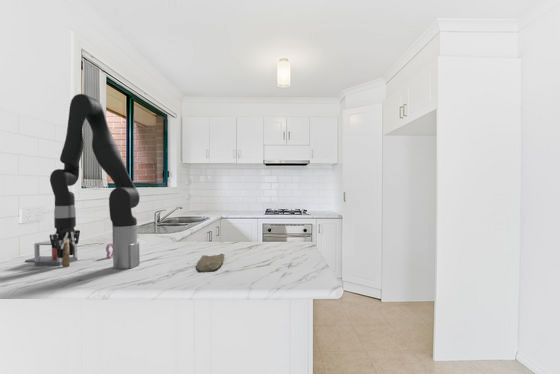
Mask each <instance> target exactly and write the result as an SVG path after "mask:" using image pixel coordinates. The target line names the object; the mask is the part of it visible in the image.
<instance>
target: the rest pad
mask: <svg viewBox="0 0 560 374" xmlns="http://www.w3.org/2000/svg"><path fill="white" fill-rule="evenodd" d="M51 257H52V255H51V256H47V255H46V256H45V255H44V256H43V255H41V256H40V260H43V259H47V258H51ZM24 262H25V263H35V257H32V258H29V259H24Z"/></svg>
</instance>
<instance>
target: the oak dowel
mask: <svg viewBox="0 0 560 374" xmlns="http://www.w3.org/2000/svg"><path fill="white" fill-rule="evenodd" d="M63 252H64V257H63V258H62V265H61V266H62V268H68V267H70V265H71V264H70V263H71V262H70V261H69V257H70V255H69V238H67V239H66V243H65V244H64V247H63Z"/></svg>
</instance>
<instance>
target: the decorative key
mask: <svg viewBox="0 0 560 374" xmlns="http://www.w3.org/2000/svg"><path fill="white" fill-rule="evenodd" d="M110 246H111V249H112V250H111V251H112V252H111V251H110ZM105 252H106V258H108V259H113V243H108V244H106V247H105Z"/></svg>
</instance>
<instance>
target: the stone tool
mask: <svg viewBox="0 0 560 374" xmlns="http://www.w3.org/2000/svg"><path fill="white" fill-rule="evenodd" d="M224 260H225V254H224V253H220V254H216V255H205V254H204V255H201V257H200V259H198V261H197V263H196V265H195V266H196V268H197V270H198V271H200V272H202V273H204V272H206V273H208V272H213V271H215V270H217V269H219V267H221V266H222V264H223V263H224Z"/></svg>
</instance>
